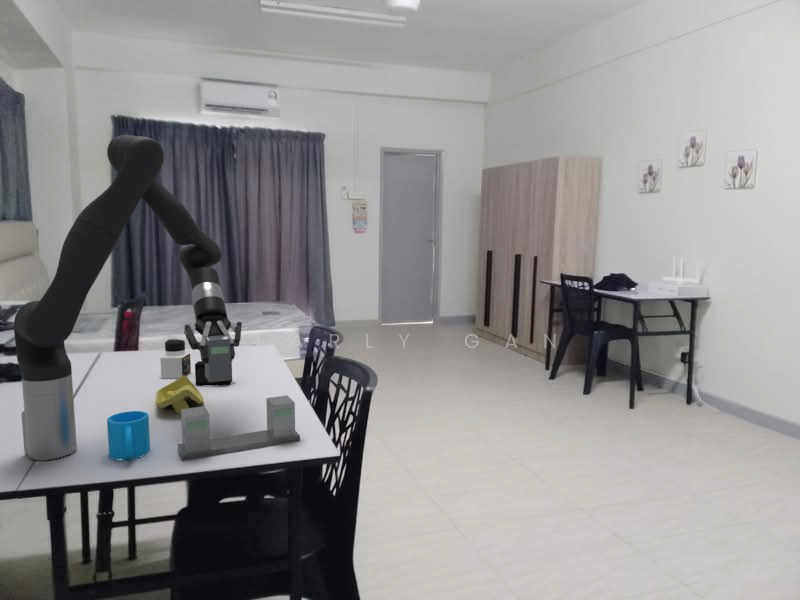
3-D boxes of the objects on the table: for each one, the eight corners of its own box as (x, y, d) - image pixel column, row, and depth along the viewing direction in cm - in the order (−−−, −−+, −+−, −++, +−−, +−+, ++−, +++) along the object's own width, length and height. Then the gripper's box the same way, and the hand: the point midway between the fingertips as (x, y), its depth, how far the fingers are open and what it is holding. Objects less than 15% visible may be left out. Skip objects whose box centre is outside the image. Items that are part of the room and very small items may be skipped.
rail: (181, 460, 123) (179, 418, 122) (177, 449, 130) (175, 409, 128) (300, 440, 135) (299, 402, 134) (291, 430, 142) (290, 394, 140)
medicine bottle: (182, 378, 187) (181, 342, 186) (160, 378, 187) (159, 342, 186) (191, 373, 194) (189, 337, 193) (170, 372, 194) (168, 337, 193)
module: (209, 382, 136) (208, 340, 135) (205, 376, 142) (204, 335, 141) (231, 380, 139) (230, 338, 137) (226, 374, 144) (225, 334, 143)
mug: (109, 449, 130) (107, 413, 128) (149, 443, 133) (147, 409, 132) (107, 470, 119) (105, 431, 118) (151, 463, 122) (149, 426, 121)
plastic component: (156, 391, 166) (189, 373, 169) (169, 412, 168) (201, 394, 171) (155, 406, 148) (192, 385, 151) (170, 430, 149) (206, 409, 152)
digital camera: (194, 387, 178) (193, 365, 177) (198, 382, 184) (197, 360, 183) (228, 386, 179) (228, 364, 178) (232, 381, 185) (231, 360, 184)
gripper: (180, 296, 141) (188, 354, 132) (239, 293, 148) (252, 349, 139) (177, 314, 146) (186, 372, 137) (235, 311, 153) (247, 366, 144)
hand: (219, 360), depth 138 cm, fingers closed on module, 5 cm apart
